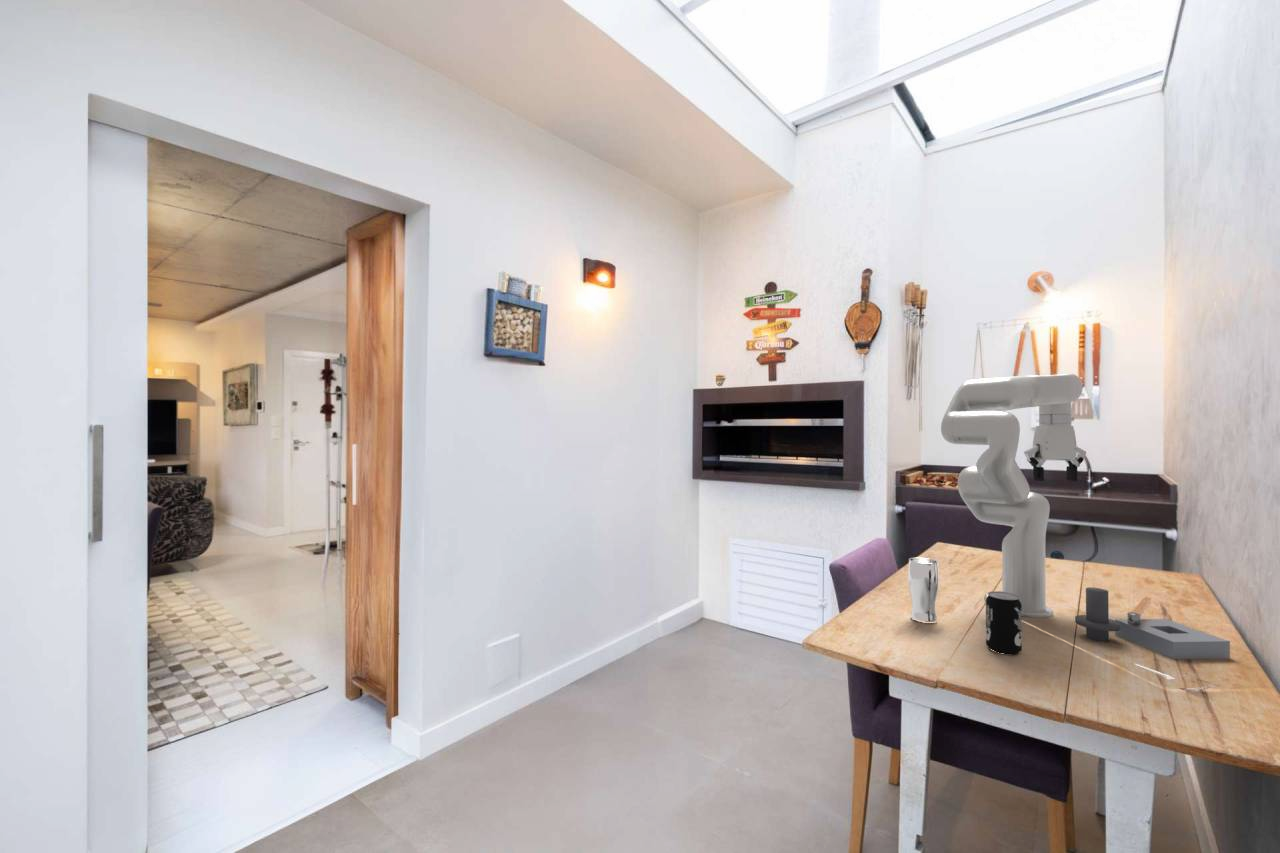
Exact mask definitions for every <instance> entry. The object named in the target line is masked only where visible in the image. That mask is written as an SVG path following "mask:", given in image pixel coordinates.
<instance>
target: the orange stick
mask: <svg viewBox="0 0 1280 853" xmlns="http://www.w3.org/2000/svg"><path fill="white" fill-rule="evenodd" d="M1151 604H1152V598H1151V597H1148V596H1145V597H1143V599H1142V600H1141V601H1140V602H1139V603H1138V604H1137V605H1136V606H1135V608H1133V609H1132V610H1131V612H1126V613H1127V614H1126V615H1127V618H1126V619H1128V623H1129V624H1132V625H1140V619H1141V616H1142V615H1143V614H1144V612H1146V611H1147V609H1148V607H1149V606H1151Z"/></svg>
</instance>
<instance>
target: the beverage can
mask: <svg viewBox="0 0 1280 853" xmlns="http://www.w3.org/2000/svg"><path fill="white" fill-rule="evenodd" d="M1000 591H1001V590H998V591H997V590H994V591H993V590H992V591H989V592H988V593H987V595H988V597H987V598H986V602H985V645H986V646H987V648H988V649H989V648H990V649H992V650H994V651H996V652H995V653H997V652H999V653H998V654H1000V653H1004V654H1003V655H1005V654H1012V655H1011V656H1014V655H1015V654H1016V655H1019V653H1021V652H1022V650H1023V649H1022V648H1023V646H1022V643H1023V642H1022V639H1023V634H1022V632H1023V628H1022V626H1023V625H1022V622H1023V621H1022V619H1023V618H1022V604H1021V602H1020V601H1019V596H1017V595H1015V594H1012V593H1008V592H1000ZM990 649H989V650H990ZM992 650H991V651H992ZM994 651H993V652H994ZM1016 655H1015V656H1016Z"/></svg>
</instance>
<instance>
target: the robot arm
mask: <svg viewBox="0 0 1280 853" xmlns="http://www.w3.org/2000/svg"><path fill="white" fill-rule="evenodd" d="M1083 388H1084V387H1083V382H1082V380H1081V378H1080V377H1079V376H1078V375H1076V374H1074V373H1066V374H1065V373H1064V374H1049V375H1048V374H1047V375H1040V374H1039V375H1038V374H1037V375H1034V374H1033V375H1029V374H1028V375H1016V376H1015V375H1014V376H1004V377H1001V376H1000V377H991V378H988V377H987V378H978V379H976V378H975V379H969V380H966V381H964V382H963V383H962V384H961V385H960V386H959V387H958V388H957V390H956V391H955V393H954V395H953V397H952V398H951V401H950V402H949V405H948V407H947V409H946V411H945V413H944V415H943V416H942V417H943V418H942V420H941V424H940V425H941V426H940V432H941V435H942V438H943V439H944V440H945V441H946V442H947V443H950V444H953V445H971V446H972V445H975V446H982V445H983V446H988V448H987V449H986V450H985V451H984V452H982V454H980V456H979V458H978V459H977V461H976V465H971V466H967V467H965V468H963V469H962V470H961V471H960V473H959V475H958V477H957V489H958V493H959V495H960V497H961V499H962V501H963V502H964V503H965V505H966V507H968V509H969V510H970V512H971V513H972V514H973V516H974V517H975V518H976V519H977V520H979V521H980V522H983V523H986V524H992V525H1001V526H1002V525H1003V526H1008V527H1012V528H1011V530H1010V531H1009V532H1008V533H1007V534H1005V536H1004V537H1003V539H1002V542H1001V563H1002V564H1001V568H1002V569H1001V576H1002V577H1001V578H1002V579H1001V590H999V591H1000V592H1008V593H1012V594H1015V595H1017V596H1019V601H1020V602H1021V604H1022V616H1023V618H1030V617H1031V618H1051V617H1053V616H1054V611H1053V609H1052V607H1049V606H1047V604H1046V603H1047V601H1046V600H1047V598H1046V597H1047V595H1046V592H1047V590H1046V589H1047V588H1046V580H1047V579H1046V578H1047V577H1046V537H1047V535H1046V534H1047V527H1048V522H1049V517H1050V511H1051V508H1050V507H1051V505H1050V503H1049V500H1048V499H1047V498H1046V497H1045V496H1043V495H1042V494H1040V493H1037V492H1034V491H1031V488H1030V485H1029V482H1028V480H1027V478H1026V476H1025V475H1024V474H1023V471H1022V470H1021V469H1020V466H1019V465H1018V463H1017V461H1016V456H1017V451H1018V448H1019V442H1020V431H1021V428H1020V427H1021V425H1020V422H1019V420H1018V417H1017V416H1016V415H1015V414H1014V413H1012V412H1009V411H1012V410H1017V409H1024V408H1025V409H1026V408H1034V407H1035V408H1036V407H1038V425H1036V426H1035V429H1034V433H1033V440H1032V447H1030V448H1028V449H1026V450H1025V451H1023V454H1024V456H1025V458H1026V461H1027V462H1028V463H1029V464H1030V466H1031V467H1032V470H1033V471H1032V474H1033V481H1037V482H1044V481H1045V468H1044V466H1043V465H1044V464H1045V463H1046V461H1064V462H1065V463H1066V465H1068V466H1066V468H1065V469H1066V480H1067V481H1071V482H1077V481H1078V468H1079V467H1080V466H1081V464H1082V462H1084V459H1085V457H1086V455H1087V451H1086V450H1084V449H1082V448H1080V447H1078V446H1077V437H1076V436H1077V435H1076V431H1075V427H1074V426H1073V425H1072V422H1074V421H1075V418H1074V416H1072V403H1074V402H1076V401H1077V400H1079V398H1080V397H1081V395H1082V393H1083ZM987 597H988V594H987V595H986V594H985V595H984V597H983V600H984V602H985V603H986V598H987Z"/></svg>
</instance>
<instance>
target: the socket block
mask: <svg viewBox="0 0 1280 853" xmlns="http://www.w3.org/2000/svg"><path fill="white" fill-rule="evenodd" d="M1114 621H1117V622H1118V623H1120V630H1119V631H1114V633H1115V636H1117V637H1120V638H1121V639H1124V640H1126V641H1129V642H1131V643H1134V644H1136V645H1138V646H1141V647H1143V648H1146V649H1148V650H1149V651H1152V652H1156V653H1158V654H1160V655H1162V656H1165V657H1167V658H1170V659H1173V660H1200V659H1201V660H1202V659H1203V660H1206V659H1207V660H1209V659H1210V660H1212V659H1213V660H1214V659H1215V660H1218V659H1221V660H1222V659H1225V660H1227V659H1230V658H1231V650H1230V649H1231V648H1230V647H1231V641H1230V640H1228V639H1224V638H1221V637H1218V636H1217V635H1213V634H1210V633H1207V632H1204V631H1201V630H1199V629H1196V628H1193V627H1190V626H1188V625H1184V624H1182V623H1179V622H1175V621H1173V620H1169V619H1166V618H1142V619H1141V618H1140V625H1132V624H1129V623H1128V618H1126V619H1125V618H1123V619H1118V618H1117V619H1114Z"/></svg>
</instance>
